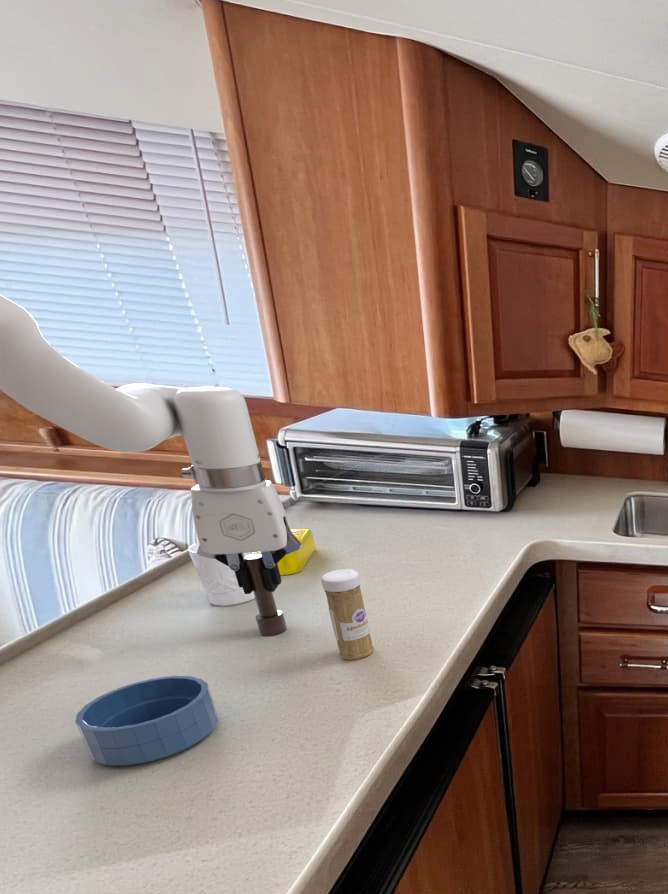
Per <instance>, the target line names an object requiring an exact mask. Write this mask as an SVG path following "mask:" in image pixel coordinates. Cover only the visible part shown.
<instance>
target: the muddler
mask: <svg viewBox="0 0 668 894" xmlns="http://www.w3.org/2000/svg"><path fill="white" fill-rule="evenodd" d="M244 560H245V564H246V567H247V571H248V574H249V578H250V581H251V585H252V588H253V592H254V595H255V598H254V599H255V602H256V606H257V608H258V613H257V615H256V616H255V620H256V624H257V628H258V631H259V634H260V636H264V637H271V636H277V635H280V634H283V633H285V632H286V631H287V629H288V627H287V623H286V620H285V616H284V612H283V611H282V610H279V609H278V607H277V605H276V601H275V597H274V592H269V591H267V588H266V584H265V580H264V577H263V573H262V569H263V568H264V561H263V558H262V555H261V554H253V555H248V556H246V557H244Z"/></svg>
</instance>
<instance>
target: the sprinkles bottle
mask: <svg viewBox="0 0 668 894" xmlns="http://www.w3.org/2000/svg"><path fill="white" fill-rule="evenodd" d="M361 583H362V581H361V577H360V574H359V572H358V571H357V570H354V569H345V568H343V569H336V570H332V571H329V572H326V573H324V574H323V575H322V576H321V585H322V589H323V592H324V593H325V596H326V601H327V605H328V612H329V617H330V620H331V625H332V629H333V633H334V637H335V640H336V643H337V648H338V656H339V657H340V658H341V659H342V660H349V661H351V660H358V659H362V658H365V657H367V656H370V655H371V654H372V653H373V652H374V649H375V648H374V645H373V642H372V638H371V632H370V631H371V630H370V625H369V621H368V616H367V612H366V609H365V603H364V600H363V594H362V589H361Z"/></svg>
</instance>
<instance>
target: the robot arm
mask: <svg viewBox="0 0 668 894" xmlns="http://www.w3.org/2000/svg"><path fill="white" fill-rule="evenodd" d="M0 391H2V392H3V393H5V395H7V396H8V397H9V398H11V399H12V400H14V401H15V403H16V402H17V403H18V404H19V405H21V406H22V407H24V408H25V409H27V410H28V411H30V412H32V413H34V414H35V415H37V416H39V417H40V418H43V420H46V421H48V422H50V423H52V424H54V425H56V426H58V427H60V428H62V429H64V430H65V431H68V432H69V433H71V434H73V435H75V436H77V437H79V438H81V439H83V440H85V441H87V442H90V443H91V444H94V445H97V446H99V447H101V448H104V449H108V450H111V451H115V452H120V453H131V454H132V453H134V454H135V453H141V452H145V451H148V450H151V449H153V448H155V447H156V446H158V445H160V444H161V443H162V442H163V441H166V440H169V439H171V438H174V437H179V436H181V437H183V439H184V442H185V446H186V450H187V453H188V456H189V459H190V462H191V466H190V467H188V468H182V469H181V476H182V477H183V478H184V479H191V480H194V483H195V484H196V485H194V486H192V487H190V498H191V499H190V500H191V508H192V517H193V523H194V527H195V528H194V529H195V533H196V537H197V541H198V542H199V548H198V551H197V554H198V555H199V556H202V557H207V558H211V559H216V560H218V561H219V562H221V563H223V564H225V565H227V566H229V568H230V569H231V570H233V571H235V575H236V578H237V581H238V585H239V587H243V590H244V593H245V594H250V593H252V591H253V588H252V585H251V581H250V578H249V574H248V571H247V567H246V564H245V560H244V553H250V552H261V554H262V558H263V561H264V568H263V569H262V573H263V577H264V580H265V584H266V588H267V591H269V592H272V593H274V592H275V591H276V590H277V588H278V587H279V585H281V584H282V575H280V572H279V568H278V565H277V563H278V562H279V561H280V560H281V559H282V558H283V557H284V556H285V555H287V554H290V553H292V552H295V551H297V550H299V549H300V548H301V546H302V544H301V542H300V541H299V540H298V539H297V538H296V537H295V535H294V534H293V533H292V532H291V525H290V521H289V519H288V516H287V513H286V510H285V508H284V505H283V503H282V500H281V498H280V496H279V493H278V492H277V489H276V487H275V486H274V484H273V482H272V481H271V480H267V479H266V475H265V472H264V467H263V463H262V460H261V456H260V453H259V448H258V445H257V441H256V437H255V433H254V429H253V425H252V421H251V417H250V413H249V409H248V405H247V402H246V399H245V397H244V395H243V394H242V393H241V391H238V390H236V389H233V388H231V387H222V386H197V387H196V386H194V387H187V388H186V387H176V386H168V385H160V384H151V383H150V384H149V383H130V384H126V385H122V386H119V387H117V388H116V387H114V386H112V385H111V384H109V383H107V382H105V381H104V380H101V379H100V378H98V377H96V376H94V375H93V374H92V373H89V372H88V371H86V370H84V368H81V367H80V366H78V365H77V364H75V363H74V362H72V361H71V360H69V359H68V358H67V357H65V356H64V355H62V354H61V352H59V351H58V350H56V349H55V348H54V347H53V346H52V344H50V343H49V342H48V341H47V340H46V338H45V337H44V335H43V334H42V332H41V329H40V328H39V326H38V323H37V321H36V319H35V318H34V316H33V315H32V314H31V313H30V312H29V311H28V310H27V309H26V308H24V307H23V306H21V305H19V304H18V303H16V302H14V301H13V300H11V299H9V298H7V297H6V296H4V295H2V294H1V293H0Z"/></svg>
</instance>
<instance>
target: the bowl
mask: <svg viewBox="0 0 668 894" xmlns="http://www.w3.org/2000/svg"><path fill="white" fill-rule="evenodd" d="M218 714H219V713H218V711H217V708H216V706H215V703H214V700H213V696H212V693H211V690H210V687H209V684H208V683H207V682H206V681H205V680H203V678H201V677H197V676H192V675H168V676H161V677H159V676H158V677H154V678H149V679H144V680H140V681H136V682H133V683H129V684H127V685H124V686H121V687H118V688H114V689H113V690H111V691H108V692H106V693H104V694H102V695H100V696H98V697H96V698H94V699H93V700H91V701H90V702H88V703H87V704H85V705H84V706H83V707H82V708H81V709H80V710H79V711H78V712H77V713H76V717H75V720H74V724H75V725H76V728H77V730H78V732H79V734H80V737H81V739H82V741H83V743H84V745H85V747H86V750H87V752H88V755H89V757H90V758H91V759H92V760H93V761H94V762H96V763H98V764H102V765H106V766H132V765H133V766H134V765H142V764H146V763H151V762H155V761H159V760H163V759H166V758H168V757H171V756H173V755H176V754H179V753H180V752H183V751H186V750H187V749H189V748H190V747H192V746H194V745H196V744H197V743H199V742H200V741H202V740H203V739H204V738H205V737H207V736H208V735H209V734H211V733H212V732H213V731H214V729H215V728H216V726H217V724H218V723H219V715H218Z"/></svg>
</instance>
